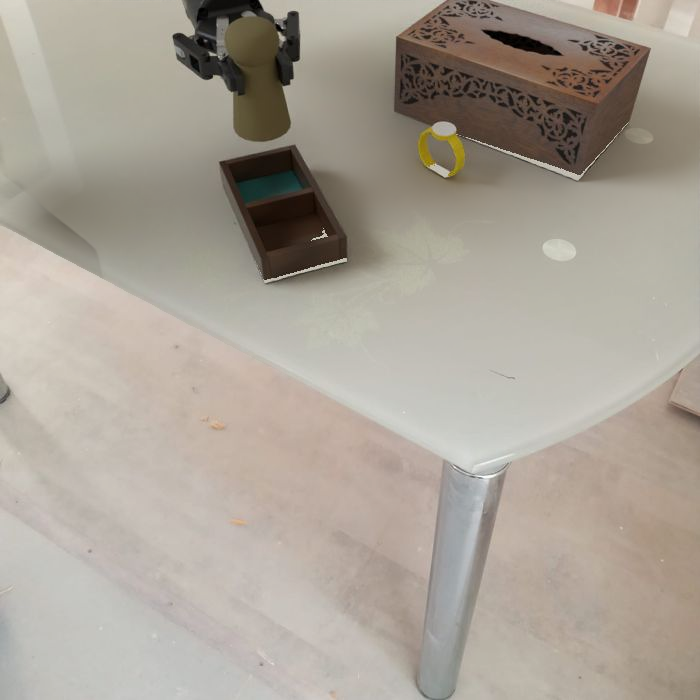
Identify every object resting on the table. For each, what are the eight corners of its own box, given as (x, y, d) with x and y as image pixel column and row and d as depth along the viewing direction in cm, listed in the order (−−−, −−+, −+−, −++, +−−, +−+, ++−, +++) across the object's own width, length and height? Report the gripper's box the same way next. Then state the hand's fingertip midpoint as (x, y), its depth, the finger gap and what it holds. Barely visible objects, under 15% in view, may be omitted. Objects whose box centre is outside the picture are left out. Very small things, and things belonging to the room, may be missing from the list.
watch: (412, 166, 92) (414, 122, 87) (427, 156, 93) (430, 112, 89) (451, 187, 89) (456, 143, 85) (466, 176, 90) (471, 132, 86)
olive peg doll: (278, 103, 83) (268, 2, 75) (299, 132, 80) (291, 30, 71) (225, 117, 82) (209, 16, 73) (244, 147, 78) (229, 45, 70)
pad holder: (264, 284, 79) (260, 259, 77) (223, 186, 90) (218, 161, 87) (347, 262, 81) (346, 236, 79) (297, 169, 92) (295, 144, 89)
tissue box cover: (628, 123, 97) (650, 48, 89) (578, 181, 89) (597, 104, 82) (452, 63, 107) (459, -9, 99) (393, 111, 100) (396, 36, 92)
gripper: (148, -20, 80) (184, 60, 70) (279, -44, 83) (332, 30, 73) (162, 48, 86) (198, 131, 75) (284, 24, 89) (334, 101, 78)
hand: (263, 81), depth 74 cm, fingers closed on olive peg doll, 4 cm apart
